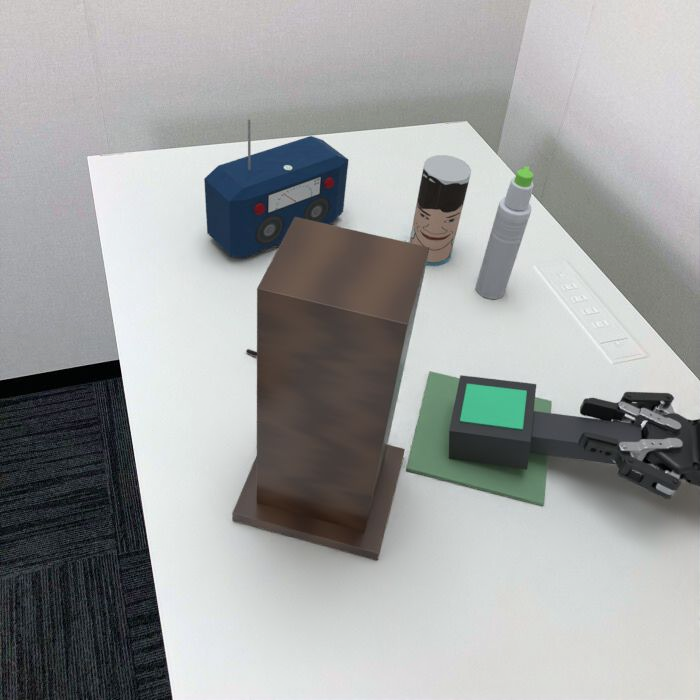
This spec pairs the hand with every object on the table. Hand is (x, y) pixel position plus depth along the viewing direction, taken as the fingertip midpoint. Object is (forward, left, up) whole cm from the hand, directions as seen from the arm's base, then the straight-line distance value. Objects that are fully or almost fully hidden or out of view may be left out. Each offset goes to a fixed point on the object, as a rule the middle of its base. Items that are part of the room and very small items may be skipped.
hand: (582, 422), depth 83 cm
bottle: (+31, -4, -8) cm, 32 cm away
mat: (+6, +8, -7) cm, 12 cm away
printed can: (+41, +2, -8) cm, 41 cm away
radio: (+50, +24, -8) cm, 56 cm away
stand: (+3, +29, -7) cm, 30 cm away
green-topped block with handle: (+2, +3, -5) cm, 6 cm away
